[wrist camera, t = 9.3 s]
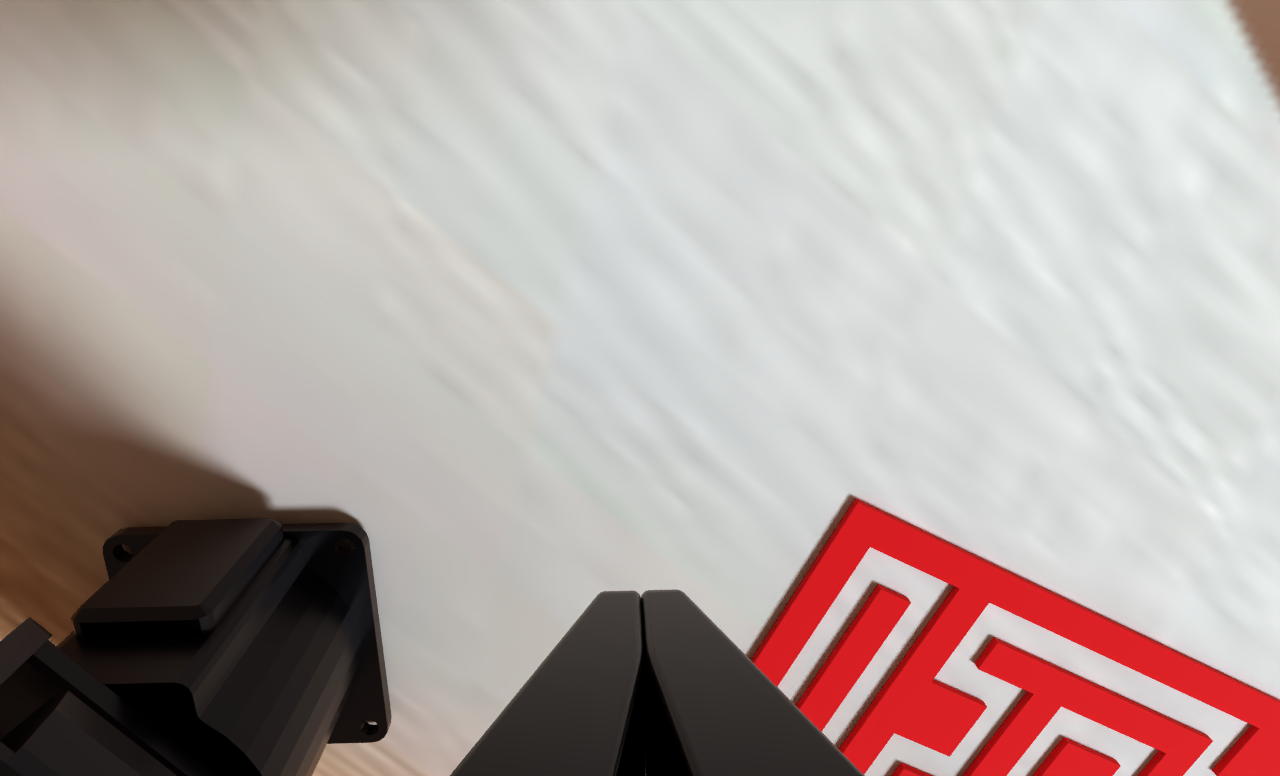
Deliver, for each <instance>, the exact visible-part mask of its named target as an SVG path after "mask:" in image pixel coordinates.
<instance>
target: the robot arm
mask: <svg viewBox="0 0 1280 776" xmlns="http://www.w3.org/2000/svg"><path fill="white" fill-rule="evenodd" d="M341 539H346V540H349V541H351V542H352V543H353V545H354V547H355V548H354V549H346V548H344V547H343V546H342V545H341V544H340V541H339V540H341ZM122 544H124V545H127V546H129V547H130V548H131V549H132V551H133V552H134V554H130V553H128V552H126V551H125V550H124V549H123V547H122ZM103 556H104V560H105V564H106V568H107V572H108V576H109V581H108V582H107V583H106V584H104V585H103V586H102V587H101V588H100V589H99V590H98V591H97V592H96V593H95V594H93V595H92V596H91V597H90V598H89V599H88V600H87V601H86V602H85V603H84V604H82V605H81V606H80V608H79V609H78V610H77V611H76V612H75V613H74V614H73V616H72V617H71V622H72V626H73V630H74V631H73V632H72V633H71V634H70V635H68V636H67V637H66V638H65V639H64V640H63V641H62V642H61V643H60V644H59V645H58V646H57V647H56V646H55V645H54V644H52V643H51V642H50V641H49V640H48V639H49V638H50V637H51V636H52V634H50V633H49V632H48V631H47V630H45V629H44V628H43V627H42V626H40V625H39V624H38V623H36V622H35V621H34V620H33V619H31V618H30V617H29V618H28V619H27V620H25V621H24V622H23V623H22V624H21V625H19V626H18V627H17V628H16V629H15V630H13V631H12V632H11V633H10V634H9V635H8V636H6V637H5V638H4V639H3V640H2V641H0V776H312V774H313V772H314V770H315V768H316V766H317V764H318V761H319V759H320V757H321V755H322V753H323V751H324V748H325V746H326V744H332V743H368V742H376V741H379V740H381V739H382V738H384V737H385V735H386V734H387V732H388V729H389V726H390V724H391V709H390V701H389V693H388V685H387V678H386V670H385V662H384V654H383V646H382V638H381V630H380V623H379V615H378V607H377V599H376V591H375V583H374V576H373V568H372V560H371V552H370V544H369V539H368V536H367V533H366V532H365V531H364V530H363V529H362V528H361V527H359V526H358V525H356V524H352V523H315V524H280V523H279V522H277V521H275V520H273V519H270V518H266V519H221V520H178V521H174V522H172V523H171V524H170V525H169V526H168V527H134V528H124V529H120V530H119V531H117V532H116V533H115V534H114V535H112V536H111V537H110V538H109V539H108V540H106V542H105V544H104V546H103ZM365 720H373V721H375V722H376V723H377V725H372V724H369V723H367V722H366V721H365ZM450 776H864V774H863V773H862V772H861V771H860V770H859V769H858V768H857V767H856V766H855V765H854V764H853V763H852V762H851V761H850V760H849V759H848V758H847V757H846V756H845V755H844V754H843V753H842V752H841V751H840V750H839V749H838V748H837V747H836V746H835V745H834V744H833V743H832V742H831V741H830V740H829V739H828V738H827V737H826V736H825V735H824V734H823V733H822V732H821V731H820V730H819V729H818V728H817V727H816V726H815V725H814V724H813V723H812V722H811V721H810V720H809V719H808V718H807V717H806V716H805V715H804V714H803V713H802V712H801V711H800V710H799V709H798V708H797V707H796V706H795V705H794V704H793V703H792V702H791V701H790V700H789V699H788V698H787V697H786V696H785V695H784V693H783V692H782V691H781V690H780V689H779V688H778V687H777V686H776V685H775V684H774V683H773V682H772V681H771V680H770V679H769V678H768V677H767V676H766V675H765V674H764V673H763V672H762V671H761V670H760V669H759V668H758V667H757V666H756V665H755V664H754V663H753V662H752V661H751V660H750V659H749V658H748V657H747V656H746V655H745V654H744V653H743V652H742V651H741V650H740V649H739V648H738V647H737V646H736V645H735V644H734V643H733V642H732V641H731V640H730V639H729V638H728V637H727V636H726V635H725V634H724V633H723V632H722V631H721V630H720V629H719V628H718V627H717V626H716V625H715V624H714V623H713V622H712V621H711V620H710V619H709V618H708V617H707V616H706V615H705V614H704V613H703V612H702V611H701V609H700V608H699V607H698V606H697V605H696V604H695V603H694V602H693V601H692V600H691V599H690V598H689V597H688V596H687V595H686V594H685V593H684V592H682V591H680V590H648V591H646V592H644V593H643V594H642V596H641V597H640V595H639V593H637V592H636V591H604V592H601V593H600V594H598V595H597V597H596V598H595V599H594V600H593V601H592V603H591V604H590V605H589V606H588V608H587V609H586V610H585V611H584V612H583V614H582V615H581V616H580V617H579V619H578V620H577V621H576V622H575V623H574V625H573V626H572V627H571V628H570V630H569V631H568V632H567V633H566V634H565V636H564V637H563V638H562V639H561V641H560V642H559V643H558V644H557V645H556V647H555V648H554V649H553V650H552V652H551V653H550V654H549V655H548V656H547V658H546V659H545V660H544V661H543V663H542V664H541V665H540V666H539V667H538V669H537V670H536V671H535V672H534V674H533V675H532V676H531V677H530V678H529V680H528V681H527V682H526V683H525V685H524V686H523V687H522V688H521V689H520V691H519V692H518V693H517V694H516V696H515V697H514V698H513V699H512V700H511V702H510V703H509V704H508V705H507V707H506V708H505V709H504V710H503V711H502V713H501V714H500V715H499V716H498V718H497V719H496V720H495V721H494V722H493V724H492V725H491V726H490V727H489V729H488V730H487V731H486V732H485V733H484V735H483V736H482V737H481V738H480V740H479V741H478V742H477V743H476V744H475V746H474V747H473V748H472V749H471V751H470V752H469V753H468V754H467V755H466V757H465V758H464V759H463V760H462V762H461V763H460V764H459V765H458V766H457V768H456V769H455V770H454V771H453V772H452V774H451V775H450Z"/></svg>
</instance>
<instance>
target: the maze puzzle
mask: <svg viewBox="0 0 1280 776" xmlns="http://www.w3.org/2000/svg"><path fill="white" fill-rule="evenodd" d="M869 547H871V548H874V549H876V550H878V551H880V552H882V553H884V554H886V555H889V556H891V557H893V558H895V559H897V560H899V561H901V562H904V563H906V564H908V565H910V566H912V567H914V568H916V569H919V570H921V571H923V572H925V573H927V574H929V575H931V576H934V577H936V578H938V579H940V580H942V581H944V582H946V583H949V584H951V585H953V586H954V588H953V589H952V591H951V592H950V593H949V595H948V596H947V598H946V599H945V600H944V602H943V603H942V605H941V606H940V607H939V609H938V610H937V612H936V613H935V615H934V616H933V617H932V619H931V620H930V622H929V623H928V624H927V626H926V627H925V629H924V630H923V631H922V633H921V634H920V636H919V637H918V638H917V640H916V641H915V643H914V644H913V646H912V647H911V648H910V650H909V651H908V653H907V654H906V655H905V657H904V658H903V660H902V661H901V662H900V664H899V665H898V667H897V668H896V669H895V671H894V672H893V674H892V675H891V677H890V678H889V679H888V681H887V682H886V684H885V685H884V686H883V688H882V689H881V691H880V692H879V693H878V695H877V696H876V698H875V699H874V700H873V702H872V703H871V705H870V706H869V708H868V709H867V710H866V712H865V713H864V715H863V716H862V717H861V719H860V720H859V722H858V723H857V724H856V726H855V727H854V729H853V730H852V731H851V733H850V734H849V736H848V737H847V739H846V740H845V741H844V743H843V744H842V746H841V747H840V748H839V750H840V751H841V752H842V753H843V754H844V755H845V756H846V757H847V758H848V759H849V760H850V761H851V762H852V763H853V764H854V765H855V766H856V767H857V768H858V769H859V770H860V771H861V772H862V773H863V774H865V773H866V771H867V770H868V768H869V767H870V766H871V764H872V763H873V762H874V760H875V759H876V757H877V756H878V755H879V753H880V752H881V751H882V749H883V748H884V746H885V745H886V744H887V742H888V741H889V739H890V738H891V737H892V735H893V734H894V733H895V734H898V735H900V736H902V737H905V738H907V739H910V740H912V741H914V742H917V743H919V744H921V745H924V746H926V747H928V748H931V749H933V750H935V751H938V752H940V753H943V754H945V755H947V756H950V755H951V754H952V753H953V751H954V750H955V749H956V747H957V746H958V745H959V743H960V742H961V741H962V739H963V738H964V737H965V736H966V734H967V733H968V732H969V730H970V729H971V728H972V726H973V725H974V724H975V722H976V721H977V720H978V718H979V717H980V716H981V714H982V713H983V712H984V710H985V709H986V708H987V706H986V705H985V703H984V702H983V701H982V700H979V699H977V698H975V697H973V696H970V695H968V694H966V693H964V692H961V691H959V690H957V689H954V688H952V687H950V686H948V685H945V684H943V683H941V682H939V681H936V680H934V678H935V676H936V675H937V673H938V672H939V671H940V669H941V668H942V667H943V665H944V664H945V662H946V661H947V660H948V658H949V657H950V656H951V654H952V653H953V651H954V650H955V649H956V647H957V646H958V645H959V643H960V642H961V640H962V639H963V638H964V636H965V635H966V634H967V632H968V631H969V629H970V628H971V627H972V625H973V624H974V623H975V621H976V620H977V618H978V617H979V616H980V614H981V613H982V612H983V610H984V609H985V607H986V606H987V605H988V603H992V604H994V605H996V606H998V607H1000V608H1002V609H1004V610H1007V611H1009V612H1011V613H1013V614H1015V615H1017V616H1019V617H1022V618H1024V619H1026V620H1028V621H1030V622H1032V623H1034V624H1037V625H1039V626H1041V627H1043V628H1045V629H1047V630H1049V631H1052V632H1054V633H1056V634H1058V635H1060V636H1062V637H1064V638H1067V639H1069V640H1071V641H1073V642H1075V643H1077V644H1079V645H1082V646H1084V647H1086V648H1088V649H1090V650H1092V651H1095V652H1097V653H1099V654H1101V655H1103V656H1105V657H1107V658H1110V659H1112V660H1114V661H1116V662H1118V663H1120V664H1122V665H1125V666H1127V667H1129V668H1131V669H1133V670H1135V671H1137V672H1140V673H1142V674H1144V675H1146V676H1148V677H1150V678H1152V679H1155V680H1157V681H1159V682H1161V683H1163V684H1165V685H1167V686H1170V687H1172V688H1174V689H1176V690H1178V691H1180V692H1182V693H1185V694H1187V695H1189V696H1191V697H1193V698H1195V699H1197V700H1200V701H1202V702H1204V703H1206V704H1208V705H1210V706H1212V707H1215V708H1217V709H1219V710H1221V711H1223V712H1225V713H1228V714H1230V715H1232V716H1234V717H1236V718H1238V719H1240V720H1243V721H1245V722H1247V723H1249V724H1251V725H1252V726H1251V727H1250V728H1249V729H1248V730H1247V731H1246V732H1245V734H1244V735H1243V736H1242V737H1241V738H1240V739H1239V740H1238V741H1237V743H1236V744H1235V745H1234V746H1233V747H1232V748H1231V749H1230V751H1229V752H1228V753H1227V754H1226V755H1225V756H1224V757H1223V758H1222V760H1221V761H1220V762H1219V763H1218V764H1217V765H1216V766H1215V768H1214V769H1213V770H1212V771H1213V772H1214V773H1215V774H1216V775H1217V776H1280V700H1278V699H1275V698H1273V697H1271V696H1269V695H1267V694H1265V693H1263V692H1261V691H1259V690H1257V689H1255V688H1252V687H1250V686H1248V685H1246V684H1244V683H1242V682H1240V681H1238V680H1236V679H1234V678H1231V677H1229V676H1227V675H1225V674H1223V673H1221V672H1219V671H1217V670H1215V669H1213V668H1210V667H1208V666H1206V665H1204V664H1202V663H1200V662H1198V661H1196V660H1194V659H1192V658H1190V657H1187V656H1185V655H1183V654H1181V653H1179V652H1177V651H1175V650H1173V649H1171V648H1169V647H1166V646H1164V645H1162V644H1160V643H1158V642H1156V641H1154V640H1152V639H1150V638H1148V637H1145V636H1143V635H1141V634H1139V633H1137V632H1135V631H1133V630H1131V629H1129V628H1127V627H1125V626H1122V625H1120V624H1118V623H1116V622H1114V621H1112V620H1110V619H1108V618H1106V617H1104V616H1101V615H1099V614H1097V613H1095V612H1093V611H1091V610H1089V609H1087V608H1085V607H1083V606H1080V605H1078V604H1076V603H1074V602H1072V601H1070V600H1068V599H1066V598H1064V597H1062V596H1060V595H1057V594H1055V593H1053V592H1051V591H1049V590H1047V589H1045V588H1043V587H1041V586H1039V585H1036V584H1034V583H1032V582H1030V581H1028V580H1026V579H1024V578H1022V577H1020V576H1018V575H1015V574H1013V573H1011V572H1009V571H1007V570H1005V569H1003V568H1001V567H999V566H997V565H995V564H992V563H990V562H988V561H986V560H984V559H982V558H980V557H978V556H976V555H974V554H971V553H969V552H967V551H965V550H963V549H961V548H959V547H957V546H955V545H953V544H950V543H948V542H946V541H944V540H942V539H940V538H938V537H936V536H934V535H932V534H930V533H927V532H925V531H923V530H921V529H919V528H917V527H915V526H913V525H911V524H909V523H906V522H904V521H902V520H900V519H898V518H896V517H894V516H892V515H890V514H888V513H885V512H883V511H881V510H879V509H877V508H875V507H873V506H871V505H869V504H867V503H865V502H862V501H860V500H858V499H856V498H855V500H854V501H853V503H852V504H851V506H850V507H849V509H848V511H847V512H846V514H845V515H844V517H843V518H842V520H841V521H840V523H839V524H838V526H837V528H836V529H835V531H834V532H833V534H832V535H831V537H830V538H829V540H828V542H827V543H826V545H825V546H824V548H823V549H822V551H821V552H820V554H819V555H818V557H817V559H816V560H815V562H814V563H813V565H812V566H811V568H810V569H809V571H808V573H807V574H806V576H805V577H804V579H803V580H802V582H801V583H800V585H799V586H798V588H797V590H796V591H795V593H794V594H793V596H792V597H791V599H790V600H789V602H788V603H787V605H786V607H785V608H784V610H783V611H782V613H781V614H780V616H779V617H778V619H777V621H776V622H775V624H774V625H773V627H772V628H771V630H770V631H769V633H768V634H767V636H766V638H765V639H764V641H763V642H762V644H761V645H760V647H759V648H758V650H757V652H756V653H755V655H754V656H753V658H752V659H751V661H752V662H753V663H754V664H755V665H756V666H757V667H758V668H759V669H760V670H761V671H762V672H763V673H764V674H765V675H766V676H767V677H768V678H769V679H770V680H771V681H772V682H773V683H774V684H775V685H776V686H778V685H779V683H780V682H781V680H782V679H783V677H784V676H785V674H786V673H787V671H788V670H789V668H790V667H791V665H792V664H793V662H794V661H795V659H796V658H797V656H798V655H799V653H800V652H801V650H802V648H803V647H804V645H805V644H806V642H807V641H808V639H809V638H810V636H811V635H812V633H813V632H814V630H815V629H816V627H817V626H818V624H819V623H820V621H821V620H822V618H823V617H824V615H825V614H826V612H827V611H828V609H829V608H830V606H831V605H832V603H833V602H834V600H835V599H836V597H837V596H838V594H839V593H840V591H841V590H842V588H843V587H844V585H845V584H846V582H847V581H848V579H849V578H850V576H851V575H852V573H853V572H854V570H855V569H856V567H857V565H858V564H859V562H860V561H861V559H862V558H863V556H864V555H865V553H866V552H867V550H868V549H869ZM910 604H911V602H910V601H909V599H908V598H907V597H905V596H903V595H901V594H898V593H896V592H894V591H892V590H890V589H888V588H885V587H883V586H881V585H879V584H878V585H877V587H876V588H875V590H874V591H873V593H872V594H871V596H870V597H869V599H868V600H867V601H866V603H865V604H864V606H863V607H862V609H861V610H860V612H859V613H858V615H857V616H856V618H855V619H854V621H853V622H852V624H851V625H850V627H849V628H848V630H847V631H846V632H845V634H844V635H843V637H842V638H841V640H840V641H839V643H838V644H837V646H836V647H835V649H834V650H833V652H832V653H831V655H830V656H829V658H828V659H827V660H826V662H825V663H824V665H823V666H822V668H821V669H820V671H819V672H818V674H817V675H816V677H815V678H814V680H813V681H812V683H811V684H810V686H809V687H808V689H807V690H806V691H805V693H804V694H803V696H802V697H801V699H800V700H799V702H798V703H797V705H796V707H797V708H798V709H799V710H800V711H801V712H802V713H803V714H804V715H805V716H806V717H807V718H808V719H809V720H810V721H811V722H812V723H813V724H814V725H815V726H816V727H817V728H818V729H819V730H820V731H821V732H822V730H823V729H824V727H825V726H826V724H827V723H828V722H829V720H830V719H831V717H832V716H833V714H834V713H835V712H836V710H837V709H838V707H839V706H840V704H841V703H842V701H843V700H844V699H845V697H846V696H847V694H848V693H849V691H850V690H851V689H852V687H853V686H854V684H855V683H856V681H857V680H858V678H859V677H860V676H861V674H862V673H863V671H864V670H865V668H866V667H867V665H868V664H869V663H870V661H871V660H872V658H873V657H874V655H875V654H876V653H877V651H878V650H879V648H880V647H881V645H882V644H883V642H884V641H885V640H886V638H887V637H888V635H889V634H890V632H891V631H892V630H893V628H894V627H895V625H896V624H897V622H898V621H899V619H900V618H901V617H902V615H903V614H904V612H905V611H906V609H907V608H908V606H909V605H910ZM975 665H976V666H977V668H978V669H979V670H981V671H984V672H986V673H988V674H990V675H993V676H995V677H997V678H999V679H1001V680H1004V681H1006V682H1008V683H1010V684H1013V685H1015V686H1017V687H1019V688H1022V689H1024V690H1026V691H1027V693H1026V694H1025V695H1024V697H1023V698H1022V699H1021V700H1020V702H1019V703H1018V704H1017V706H1016V707H1015V708H1014V709H1013V711H1012V712H1011V713H1010V715H1009V716H1008V717H1007V718H1006V720H1005V721H1004V722H1003V724H1002V725H1001V726H1000V728H999V729H998V730H997V731H996V733H995V734H994V735H993V737H992V738H991V739H990V740H989V742H988V743H987V744H986V746H985V747H984V748H983V750H982V751H981V752H980V753H979V755H978V756H977V757H976V759H975V760H974V761H973V762H972V764H971V765H970V766H969V768H968V769H967V770H966V772H965V773H964V774H963V775H962V776H1007V774H1008V773H1009V772H1010V770H1011V769H1012V768H1013V767H1014V765H1015V764H1016V763H1017V762H1018V760H1019V759H1020V758H1021V757H1022V755H1023V754H1024V753H1025V752H1026V750H1027V749H1028V748H1029V746H1030V745H1031V744H1032V743H1033V741H1034V740H1035V739H1036V738H1037V736H1038V735H1039V734H1040V733H1041V731H1042V730H1043V729H1044V727H1045V726H1046V725H1047V724H1048V722H1049V721H1050V720H1051V719H1052V717H1053V716H1054V715H1055V714H1056V712H1057V711H1058V710H1059V708H1060V707H1061V706H1062V707H1064V708H1066V709H1068V710H1071V711H1073V712H1075V713H1077V714H1079V715H1082V716H1084V717H1086V718H1088V719H1091V720H1093V721H1095V722H1097V723H1100V724H1102V725H1104V726H1106V727H1108V728H1111V729H1113V730H1115V731H1117V732H1120V733H1122V734H1124V735H1126V736H1129V737H1131V738H1133V739H1135V740H1137V741H1140V742H1142V743H1144V744H1146V745H1149V746H1151V747H1153V748H1155V749H1158V750H1159V751H1158V753H1157V754H1156V755H1155V756H1154V757H1153V758H1152V760H1151V761H1150V762H1149V763H1148V764H1147V765H1146V767H1145V768H1144V769H1143V770H1142V771H1141V773H1140V774H1139V775H1138V776H1183V775H1184V774H1185V773H1186V772H1187V770H1188V769H1189V768H1190V767H1191V766H1192V765H1193V763H1194V762H1195V761H1196V760H1197V759H1198V758H1199V757H1200V755H1201V754H1202V753H1203V752H1204V751H1205V750H1206V749H1207V747H1208V746H1209V745H1210V744H1211V743H1212V742H1213V741H1212V740H1211V739H1210V737H1209V736H1208V735H1206V734H1203V733H1201V732H1199V731H1197V730H1195V729H1192V728H1190V727H1188V726H1186V725H1184V724H1182V723H1179V722H1177V721H1175V720H1173V719H1171V718H1169V717H1166V716H1164V715H1162V714H1160V713H1158V712H1155V711H1153V710H1151V709H1149V708H1147V707H1145V706H1142V705H1140V704H1138V703H1136V702H1134V701H1131V700H1129V699H1127V698H1125V697H1123V696H1121V695H1118V694H1116V693H1114V692H1112V691H1110V690H1108V689H1105V688H1103V687H1101V686H1099V685H1097V684H1094V683H1092V682H1090V681H1088V680H1086V679H1084V678H1081V677H1079V676H1077V675H1075V674H1073V673H1071V672H1068V671H1066V670H1064V669H1062V668H1060V667H1057V666H1055V665H1053V664H1051V663H1049V662H1047V661H1044V660H1042V659H1040V658H1038V657H1036V656H1033V655H1031V654H1029V653H1027V652H1025V651H1023V650H1020V649H1018V648H1016V647H1014V646H1012V645H1010V644H1007V643H1005V642H1003V641H1001V640H999V639H996V638H993V639H992V641H991V642H990V643H989V645H988V646H987V647H986V649H985V650H984V651H983V653H982V654H981V656H980V657H979V658H978V660H977V661H976V662H975ZM1119 767H1120V764H1119V763H1118V762H1117V761H1116V760H1115V759H1113V758H1110V757H1108V756H1106V755H1104V754H1101V753H1099V752H1097V751H1095V750H1092V749H1090V748H1088V747H1086V746H1083V745H1081V744H1079V743H1077V742H1074V741H1072V740H1070V739H1067V738H1065V737H1064V738H1063V739H1062V740H1061V741H1060V742H1059V744H1058V745H1057V746H1056V747H1055V749H1054V750H1053V751H1052V752H1051V754H1050V755H1049V756H1048V757H1047V759H1046V760H1045V761H1044V762H1043V764H1042V765H1041V766H1040V767H1039V769H1038V770H1037V771H1036V772H1035V774H1034V775H1033V776H1113V775H1114V773H1115V772H1116V771H1117V770H1118V769H1119ZM892 776H932V775H930V774H928V773H925V772H923V771H920V770H918V769H916V768H913V767H911V766H909V765H906V764H904V763H900V765H899V766H898V767H897V769H896V770H895V772H894V773H893V774H892Z"/></svg>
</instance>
